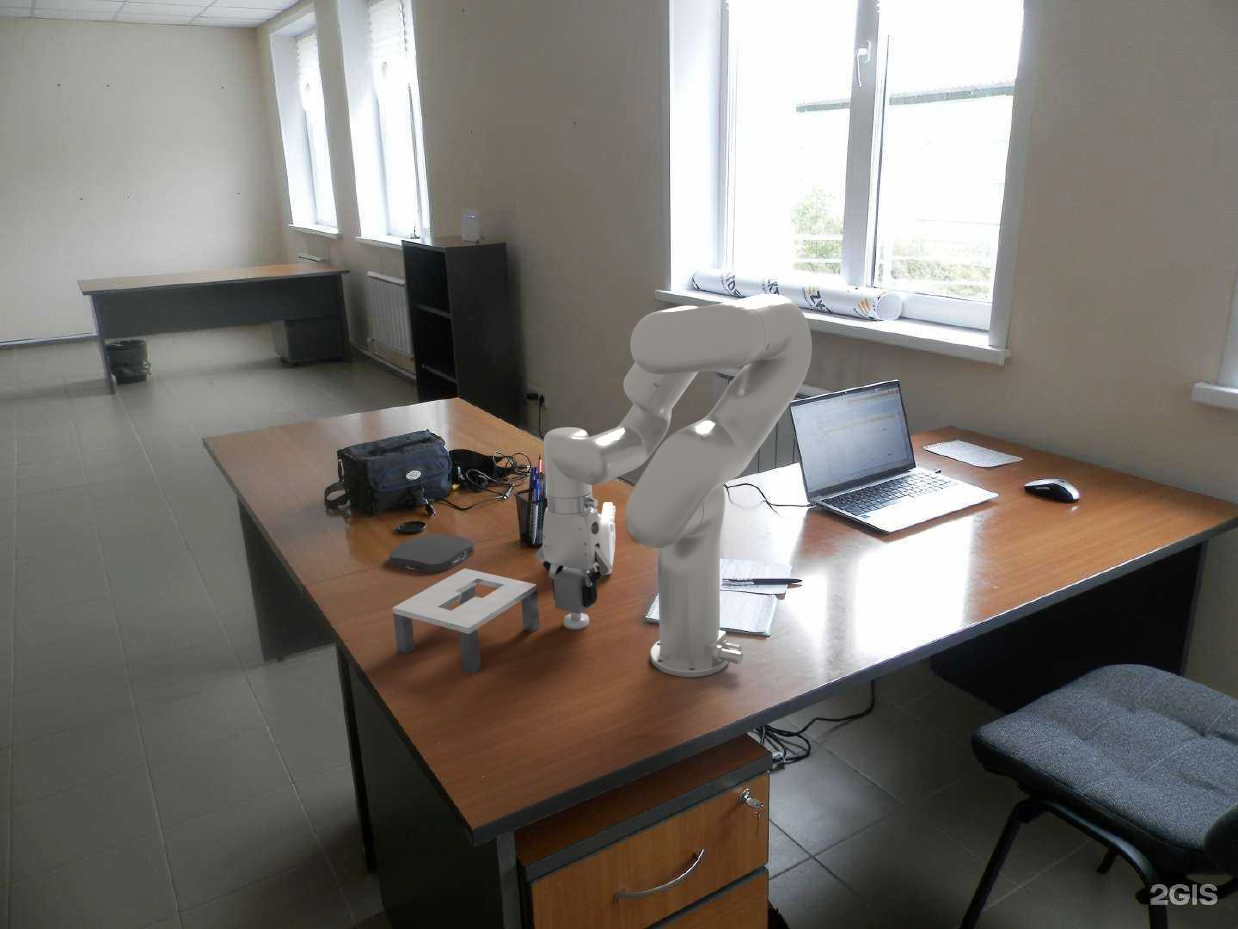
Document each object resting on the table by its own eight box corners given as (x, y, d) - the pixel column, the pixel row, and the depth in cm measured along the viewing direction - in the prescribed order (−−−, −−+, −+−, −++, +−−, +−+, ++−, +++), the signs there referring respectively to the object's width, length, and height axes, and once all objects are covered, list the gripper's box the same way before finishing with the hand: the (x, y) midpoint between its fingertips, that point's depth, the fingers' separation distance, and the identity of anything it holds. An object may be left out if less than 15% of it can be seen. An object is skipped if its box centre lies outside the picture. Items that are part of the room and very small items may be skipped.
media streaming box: (426, 542, 197) (425, 529, 196) (481, 551, 191) (480, 538, 190) (382, 566, 185) (380, 553, 184) (440, 577, 178) (438, 563, 177)
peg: (596, 620, 157) (593, 570, 154) (580, 632, 153) (577, 581, 150) (572, 615, 159) (569, 565, 156) (556, 626, 155) (553, 576, 152)
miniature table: (539, 627, 155) (536, 584, 153) (472, 674, 140) (468, 628, 138) (468, 608, 163) (464, 568, 161) (397, 651, 148) (392, 607, 146)
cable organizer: (567, 551, 188) (564, 499, 185) (617, 551, 188) (615, 498, 184) (559, 581, 174) (556, 524, 170) (613, 580, 173) (611, 523, 170)
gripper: (625, 502, 148) (628, 602, 153) (541, 488, 157) (547, 584, 162) (601, 516, 142) (606, 620, 147) (515, 501, 151) (522, 600, 156)
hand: (575, 600), depth 155 cm, fingers open, 5 cm apart
